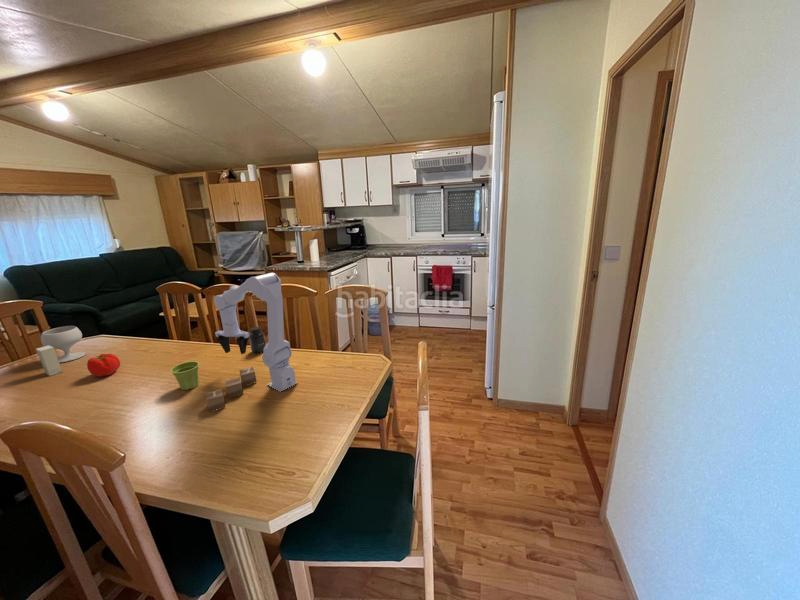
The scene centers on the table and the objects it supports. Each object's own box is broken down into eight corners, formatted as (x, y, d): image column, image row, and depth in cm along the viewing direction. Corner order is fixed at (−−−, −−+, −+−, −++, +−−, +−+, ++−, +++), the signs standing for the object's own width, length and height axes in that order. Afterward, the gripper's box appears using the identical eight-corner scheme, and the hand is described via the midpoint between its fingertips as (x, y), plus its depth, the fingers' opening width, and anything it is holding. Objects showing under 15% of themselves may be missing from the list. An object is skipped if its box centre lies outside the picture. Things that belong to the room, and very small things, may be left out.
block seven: (256, 382, 129) (254, 371, 127) (243, 386, 126) (241, 375, 125) (254, 377, 133) (252, 366, 131) (241, 381, 130) (239, 370, 129)
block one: (225, 407, 113) (222, 394, 111) (209, 412, 110) (206, 399, 109) (224, 400, 117) (221, 388, 115) (208, 405, 114) (205, 393, 113)
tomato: (94, 382, 134) (87, 363, 131) (88, 375, 140) (82, 357, 138) (125, 372, 142) (120, 354, 139) (118, 365, 148) (113, 348, 146)
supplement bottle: (263, 354, 155) (259, 330, 152) (249, 354, 155) (245, 331, 152) (268, 348, 161) (265, 325, 158) (255, 348, 162) (251, 326, 158)
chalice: (61, 354, 163) (51, 327, 159) (94, 350, 167) (85, 323, 163) (41, 366, 150) (29, 337, 146) (77, 361, 154) (67, 332, 150)
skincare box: (63, 371, 144) (54, 347, 141) (49, 376, 141) (39, 351, 137) (58, 369, 147) (49, 344, 144) (44, 373, 144) (35, 348, 140)
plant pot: (190, 393, 122) (185, 373, 120) (169, 391, 124) (164, 371, 122) (208, 381, 131) (204, 361, 129) (189, 379, 133) (184, 360, 131)
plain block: (243, 394, 121) (241, 382, 119) (228, 398, 118) (226, 386, 117) (241, 388, 125) (239, 377, 123) (227, 392, 122) (225, 381, 121)
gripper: (251, 319, 133) (256, 349, 137) (221, 318, 136) (227, 347, 140) (240, 325, 127) (246, 356, 130) (209, 324, 130) (215, 354, 133)
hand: (235, 352), depth 135 cm, fingers open, 7 cm apart
